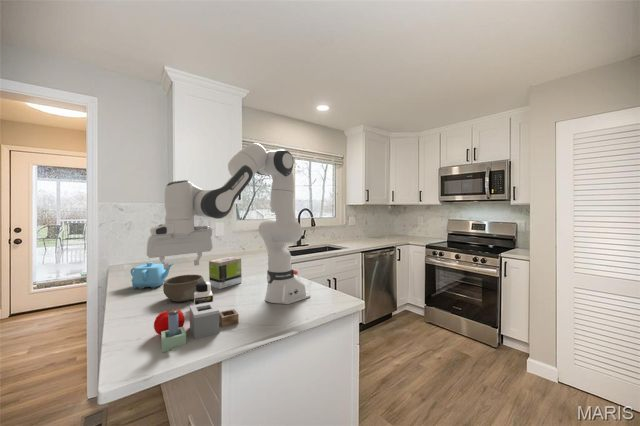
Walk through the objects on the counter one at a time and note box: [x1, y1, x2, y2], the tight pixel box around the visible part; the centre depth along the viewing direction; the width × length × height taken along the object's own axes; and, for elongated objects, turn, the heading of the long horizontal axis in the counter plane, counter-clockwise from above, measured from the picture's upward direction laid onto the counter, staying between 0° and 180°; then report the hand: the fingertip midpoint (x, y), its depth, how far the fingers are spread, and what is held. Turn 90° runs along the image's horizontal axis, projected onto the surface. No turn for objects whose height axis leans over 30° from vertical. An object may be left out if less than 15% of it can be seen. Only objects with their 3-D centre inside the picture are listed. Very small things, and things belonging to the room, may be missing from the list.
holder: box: [219, 308, 240, 328], centre depth 103 cm, size 6×6×4 cm
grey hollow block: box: [189, 301, 220, 340], centre depth 96 cm, size 8×10×9 cm
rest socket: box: [160, 326, 187, 353], centre depth 88 cm, size 7×7×4 cm
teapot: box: [129, 261, 174, 290], centre depth 151 cm, size 18×16×14 cm
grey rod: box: [168, 309, 179, 337], centre depth 88 cm, size 3×3×10 cm
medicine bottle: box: [193, 280, 214, 305], centre depth 117 cm, size 7×7×12 cm
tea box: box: [208, 256, 242, 290], centre depth 155 cm, size 15×10×15 cm
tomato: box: [153, 308, 186, 337], centre depth 96 cm, size 9×10×8 cm
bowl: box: [162, 274, 205, 303], centre depth 131 cm, size 17×18×10 cm
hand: (181, 267), depth 94 cm, fingers open, 8 cm apart
